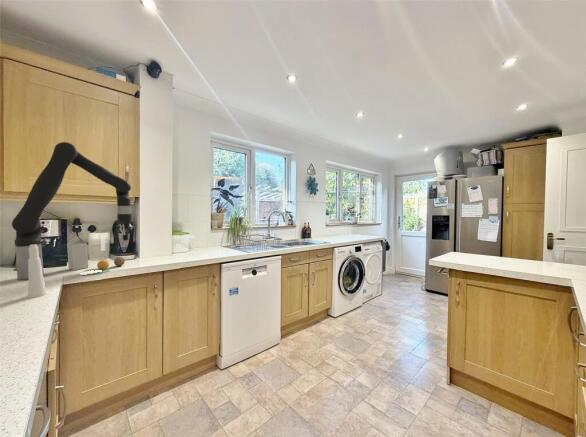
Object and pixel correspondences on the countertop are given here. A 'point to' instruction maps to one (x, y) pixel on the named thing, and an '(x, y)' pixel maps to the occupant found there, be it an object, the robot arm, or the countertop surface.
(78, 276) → the countertop surface
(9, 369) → the countertop surface
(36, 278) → the cosmetic bottle
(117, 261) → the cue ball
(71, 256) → the milk carton
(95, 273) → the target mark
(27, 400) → the countertop surface
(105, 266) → the object ball
